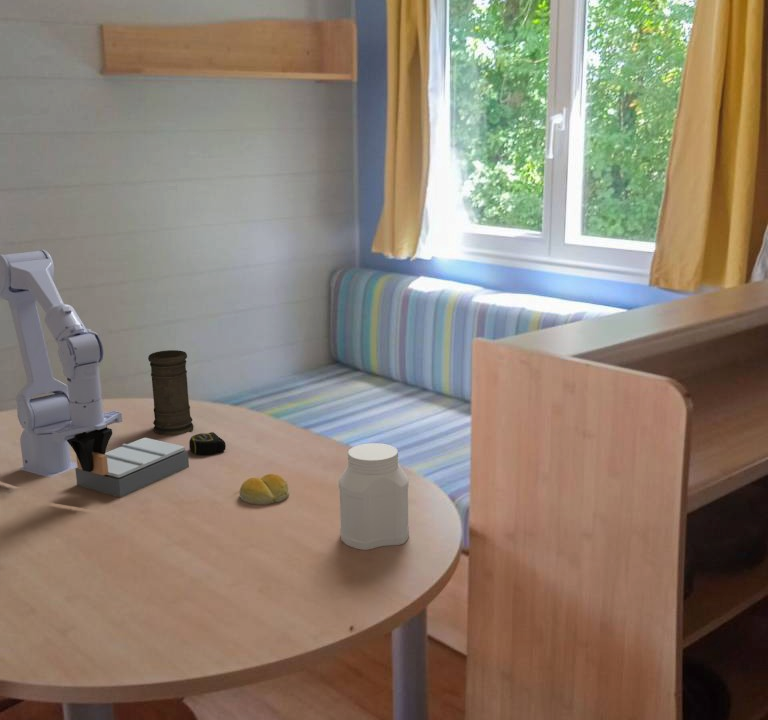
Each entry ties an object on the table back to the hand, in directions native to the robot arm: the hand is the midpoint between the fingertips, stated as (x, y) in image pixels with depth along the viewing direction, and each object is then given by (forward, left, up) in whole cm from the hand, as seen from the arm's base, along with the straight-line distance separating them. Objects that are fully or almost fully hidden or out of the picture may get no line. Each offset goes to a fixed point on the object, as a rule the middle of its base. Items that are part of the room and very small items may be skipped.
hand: (92, 468), depth 175 cm
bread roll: (+28, +16, -6) cm, 33 cm away
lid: (0, +9, -1) cm, 9 cm away
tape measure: (+2, +29, -6) cm, 29 cm away
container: (-14, +35, -6) cm, 38 cm away
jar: (+55, +12, -6) cm, 57 cm away
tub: (0, +10, -5) cm, 11 cm away
